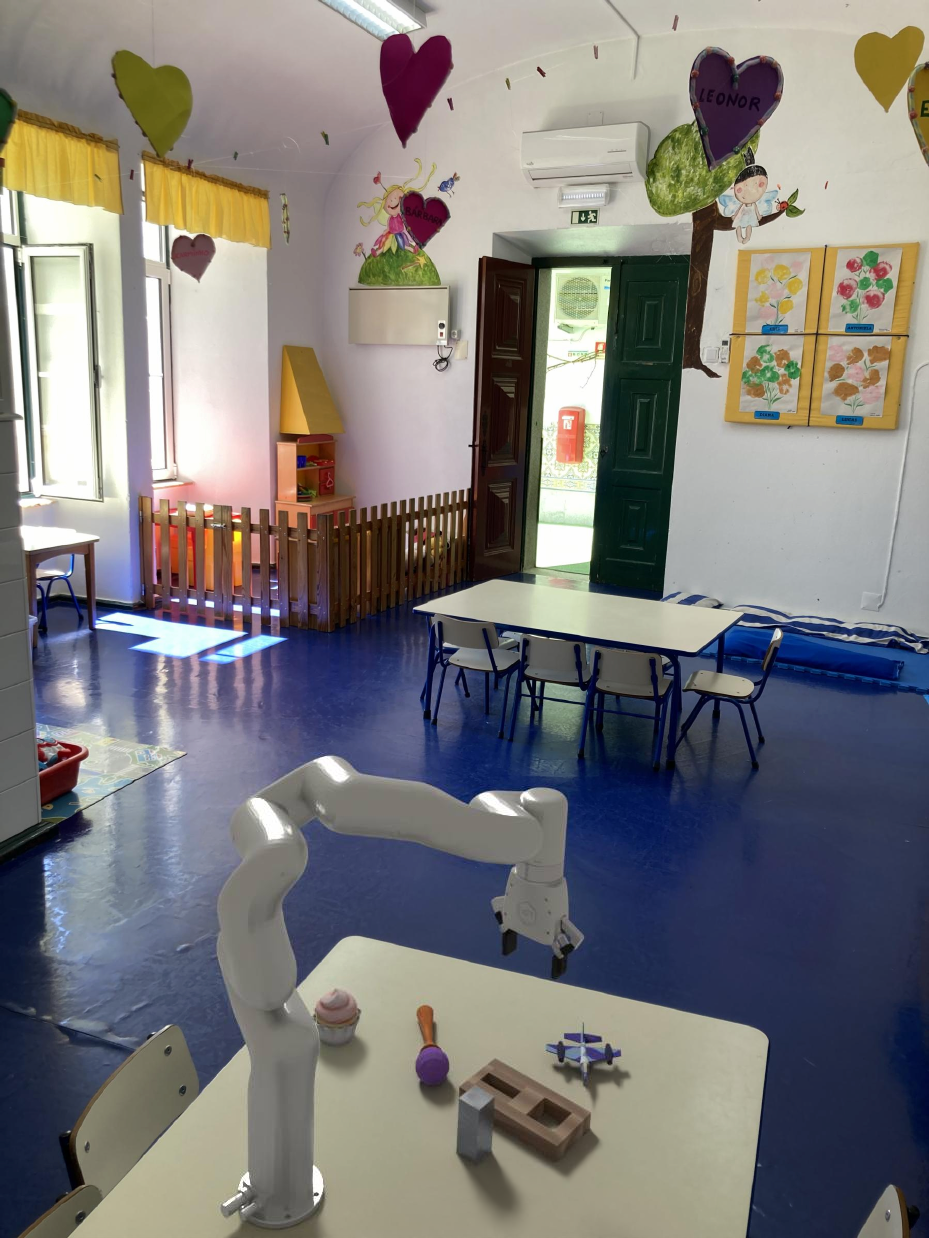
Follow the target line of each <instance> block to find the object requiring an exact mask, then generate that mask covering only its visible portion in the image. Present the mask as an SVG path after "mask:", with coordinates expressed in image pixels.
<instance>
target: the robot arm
mask: <svg viewBox="0 0 929 1238" xmlns="http://www.w3.org/2000/svg"><path fill="white" fill-rule="evenodd" d="M468 803H469V804H468ZM468 803H466V802H463V801H462V800H460V799H457V798H456V797H455V796H452V795H450V794H449V793H447V792H445V791H443V790H442V789H440V788H439V787H436V786H433V785H430V784H427V783H425V782H421V781H415V780H407V779H401V778H400V779H399V778H394V777H393V778H391V777H386V776H385V777H384V776H379V775H377V776H376V775H370V774H364V773H362V772H359V771H357V770H356V769H355V768H354V767H353V766H352V765H351V763H349V762H348V761H347V760H345V759H344V758H343V757H340V756H338V755H337V756H336V755H325V756H322V757H318V758H315V759H312V760H310V761H308V762H306V763H304V764H303V765H301V766H299V767H297V768H295V769H294V770H292V771H291V772H289V773H287V774H285V775H284V776H282V777H280V778H279V779H277V780H276V781H274V782H272V783H270V784H269V785H268V786H266V787H264V788H262V789H261V790H259V791H257V792H256V793H254V794H252V795H251V796H249V797H248V798H247V799H245V800H244V801H243V802H242V803H241V804H239V806H238V807H237V808H236V809H235V811H234V812H233V814H232V817H231V820H230V822H229V836H230V840H231V841H232V845H233V846H234V848H235V850H236V851H237V854H239V856H240V858H241V860H242V861H241V863H240V864H239V865H238V866H237V867H236V869H235V870H234V871H233V872H232V873H231V875H229V877H228V879H227V880H226V881H225V883H224V885H223V887H222V889H221V891H220V892H219V895H218V899H217V903H216V904H217V909H216V913H217V918H218V919H217V920H218V925H219V929H220V931H219V933H218V936H217V940H216V955H217V959H218V960H217V961H218V963H219V966H220V970H221V974H222V977H223V981H224V985H225V988H226V992H227V995H228V998H229V1002H230V1005H231V1008H232V1011H233V1014H234V1017H235V1019H236V1022H237V1025H238V1027H239V1029H240V1033H241V1034H242V1037H243V1040H244V1043H245V1045H246V1047H247V1051H248V1055H249V1057H250V1072H249V1073H250V1074H249V1079H248V1083H247V1085H248V1086H247V1172H246V1173H245V1175H244V1176H243V1177H242V1178H241V1180H240V1183H239V1185H238V1188H237V1193H236V1195H234V1196H233V1197H230V1198H229V1199H227V1200H225V1202H223V1203H222V1204H221V1205H220V1211H221V1214H222V1216H223V1217H224V1218H225V1219H228V1218H229V1217H231V1216H232V1215H234V1214H235V1213H236V1212H237V1211H239V1217H240V1220H242V1221H244V1222H245V1221H249V1222H251V1224H253V1225H255V1226H258V1227H262V1228H266V1229H283V1228H290V1227H292V1226H295V1225H298V1224H300V1223H302V1222H303V1221H305V1220H307V1219H308V1218H309V1217H311V1216H312V1215H313V1214H314V1213H315V1212H316V1210H317V1209H318V1208H319V1207H320V1205H321V1203H322V1200H323V1198H324V1190H325V1188H324V1187H325V1185H324V1179H323V1176H322V1173H321V1172H320V1170H319V1169H318V1167H316V1166H315V1165H314V1162H315V1161H314V1159H315V1158H314V1157H315V1155H314V1153H315V1152H314V1151H315V1148H314V1145H315V1143H314V1142H315V1081H316V1080H315V1079H316V1071H317V1064H318V1061H319V1055H320V1037H319V1033H318V1029H317V1026H316V1023H315V1022H314V1020H313V1019H312V1017H311V1016H312V1015H311V1013H310V1010H309V1009H308V1007H307V1006H306V1004H305V1002H304V1000H303V999H302V997H301V995H300V993H299V992H298V990H297V987H296V984H297V979H298V968H297V967H298V966H297V961H296V957H295V954H294V951H293V947H292V945H291V942H290V941H291V940H290V938H289V934H288V931H287V927H286V923H285V919H284V912H283V901H284V899H285V897H286V895H288V893H289V891H290V890H291V889H292V888H293V887H294V885H295V884H296V883H297V882H298V881H299V879H300V878H301V877H302V875H303V873H304V871H305V869H306V867H307V864H308V859H309V849H308V845H307V841H306V838H305V836H304V835H303V832H302V831H301V829H300V828H301V827H303V826H304V825H307V824H308V823H309V822H310V821H312V820H314V819H318V820H319V822H320V823H321V824H322V825H323V826H324V827H325V828H327V829H328V830H331V831H332V832H334V833H339V834H343V835H351V836H359V837H360V836H361V837H369V838H382V839H392V840H397V841H406V842H407V841H408V842H414V843H419V844H421V845H423V846H426V847H428V848H431V849H433V850H439V851H440V852H441V851H442V852H446V853H448V854H450V855H451V854H452V855H455V856H458V857H460V858H461V857H462V858H463V859H466V860H467V859H468V860H472V861H476V862H481V863H488V864H496V865H497V864H498V865H499V864H500V865H515V866H513V867H512V868H511V870H510V873H509V875H508V878H507V883H506V887H505V893H504V895H502V896H496V897H494V898H493V899H491V902H490V903H491V906H492V908H493V911H494V917H495V919H496V921H497V923H498V924H499V926H498V927H499V931H500V932H501V933H502V937H501V946H502V948H501V954H502V956H504V957H507V956H508V955H510V954H511V953H514V951H516V950H517V947H518V945H517V944H518V934H520V935H522V936H524V937H526V938H527V939H528V938H529V939H531V940H533V941H535V942H537V943H540V944H542V945H545V946H550V947H551V948H552V951H553V952H554V955H553V956H552V959H551V974H550V978H551V980H554V981H556V980H557V979H558V978H560V977H561V976H562V975H564V974H565V973H566V972H567V969H568V957H569V954H571V953H572V952H574V951H575V950H576V949H578V948H579V946H580V945H581V943H582V942H583V941H584V939H585V936H584V934H583V933H582V932H581V931H580V930H579V929H578V928H577V927H576V925H574V923H573V922H571V920H570V919H569V892H568V883H567V879H566V877H564V869H565V868H564V865H565V851H566V838H567V835H566V834H567V824H568V811H569V809H568V807H569V803H568V800H567V797H566V796H565V795H564V794H563V792H561V791H559V790H556V789H555V788H548V787H533V788H530V789H528V790H525V791H523V790H522V791H513V790H510V791H509V790H489V791H488V790H487V791H484V792H482V793H479V794H477V795H476V796H475V797H473V798H472V799H471V800H470V802H468ZM566 935H567V936H569V938H570V941H569V940H568V939H567V936H566Z"/></svg>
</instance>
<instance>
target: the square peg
mask: <svg viewBox="0 0 929 1238" xmlns="http://www.w3.org/2000/svg"><path fill="white" fill-rule="evenodd" d="M494 1101H495V1097H494V1096H492V1095H491V1094H489V1093H487V1092H486V1091H484V1090H482V1089H481V1088H479V1087H477V1086H476V1085H474V1086H473V1087H472V1088H471V1089H469V1090H468V1091H467V1092H466V1093H465V1094H463V1095H462V1096H461V1097H460V1098H459V1097H458V1108H457V1109H458V1112H457V1113H458V1114H457V1129H456V1130H457V1131H456V1148H455V1149H456V1151H455V1152H456V1154H458V1155H459V1156H461V1157H462V1158H463V1159H464V1160H467V1161H468V1162H469V1163H471V1164H472V1165H475V1166H477V1165H478V1164H479V1163H480V1162H482V1160H484V1159H485V1158H486V1157H487V1156H488V1155H489V1154H490V1153H492V1151H493V1150H492V1147H493V1134H494V1133H493V1132H494V1124H493V1118H494Z"/></svg>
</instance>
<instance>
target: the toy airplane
mask: <svg viewBox="0 0 929 1238" xmlns="http://www.w3.org/2000/svg"><path fill="white" fill-rule="evenodd" d="M563 1039H565V1040H568V1041H571V1042H575V1043H578V1044H580V1045H579V1046H576V1045H575V1046H572V1045H564V1042H563V1041H562V1040H559V1041H558V1042H557V1044H552V1043H546V1044H545V1050H546V1052H547V1053H551V1054H555V1055H556V1057H557V1059H558V1060H557V1061H558V1062H559V1063H561V1064H563V1063H564V1062H565V1059H568V1060H571V1061H573V1062H576V1063H579V1069H580V1071H581V1078H582V1080H581V1083H582V1085H584V1086H585V1092H586V1093H587V1091H588V1090H587V1083H588V1075H589V1070H590V1063H593V1062H598V1061H604V1060H605V1061H606V1064H607V1066H612V1065H613V1062H614V1061H613V1060H614V1058H619V1057H622V1050H621V1048H613V1047H612V1046H611V1043H606V1044H605V1047H599V1046H597V1047H596V1046H588V1045H587V1044H596V1043H603V1037H602V1036H600V1035H595V1034H590V1033H585V1023H584V1021H582V1026H581V1032H572V1033H571V1032H566V1033H563ZM586 1045H587V1046H586Z"/></svg>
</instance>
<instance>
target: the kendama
mask: <svg viewBox="0 0 929 1238" xmlns="http://www.w3.org/2000/svg"><path fill="white" fill-rule="evenodd" d="M415 1015H416V1017H417V1020H418V1024H419V1027H420V1030H421V1033H422V1036H423V1038H424V1042H425V1044H424V1045H423V1046H422V1048H421V1049H420V1051H419V1053H418V1055H417V1057H416V1060H415V1061H414V1062H415V1067H414V1068H415V1072H416V1073H415V1074H416V1076H417V1078H418V1079H419V1080H420V1081H422V1082H423V1083H424V1084H425V1085H429V1086H434V1085H435V1086H436V1085H438V1084H441V1083H442V1082H443V1081H445V1079H446V1078H447V1077H448V1074H449V1071H450V1060H449V1058H448V1055H447V1053H446V1052H444V1051H443V1050H442V1048H441V1047H440V1046H438V1045H437V1044H436V1043H434V1042H433V1033H434V1031H433V1030H434V1009H433V1008H432V1007H431V1005H428V1004H423V1005H420V1006H419V1007H418V1008H417V1010H416V1014H415Z"/></svg>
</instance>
